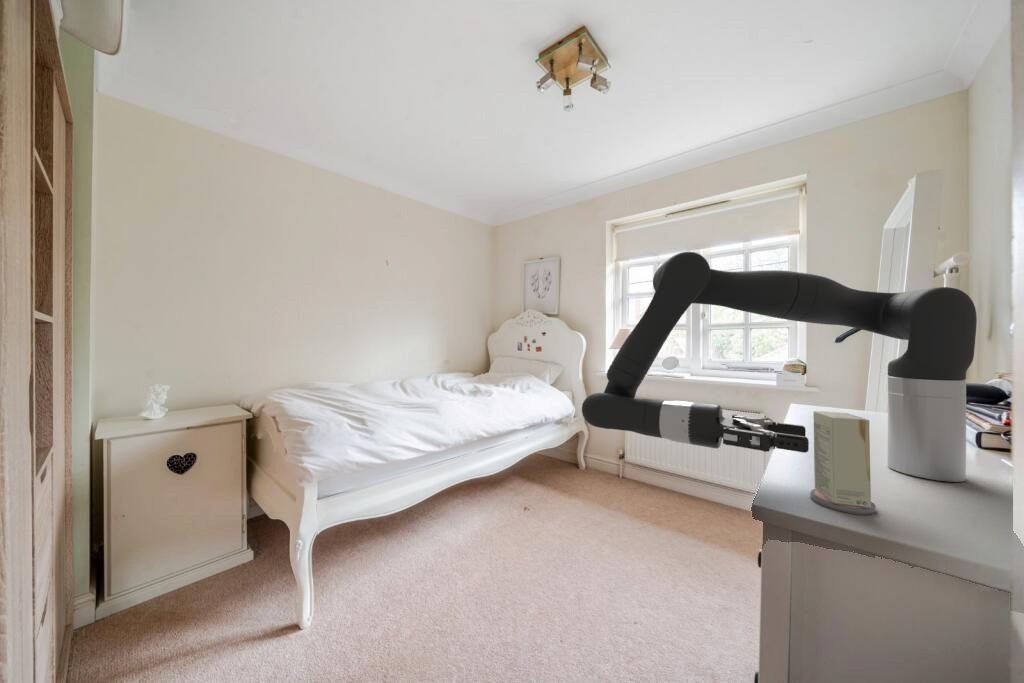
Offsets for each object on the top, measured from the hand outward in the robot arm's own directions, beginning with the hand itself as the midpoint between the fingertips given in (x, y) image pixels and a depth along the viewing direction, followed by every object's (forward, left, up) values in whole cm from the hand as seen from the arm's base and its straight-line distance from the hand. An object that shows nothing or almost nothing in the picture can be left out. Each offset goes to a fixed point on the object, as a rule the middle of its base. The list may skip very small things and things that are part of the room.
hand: (806, 438), depth 54 cm
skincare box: (0, +4, -8) cm, 9 cm away
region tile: (0, +4, -9) cm, 10 cm away
